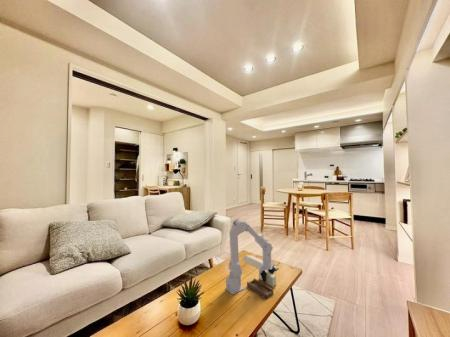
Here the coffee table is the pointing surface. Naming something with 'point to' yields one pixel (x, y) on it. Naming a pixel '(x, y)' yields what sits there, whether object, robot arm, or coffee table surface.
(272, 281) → the light grey block
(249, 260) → the crown molding
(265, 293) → the rack
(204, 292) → the coffee table surface
